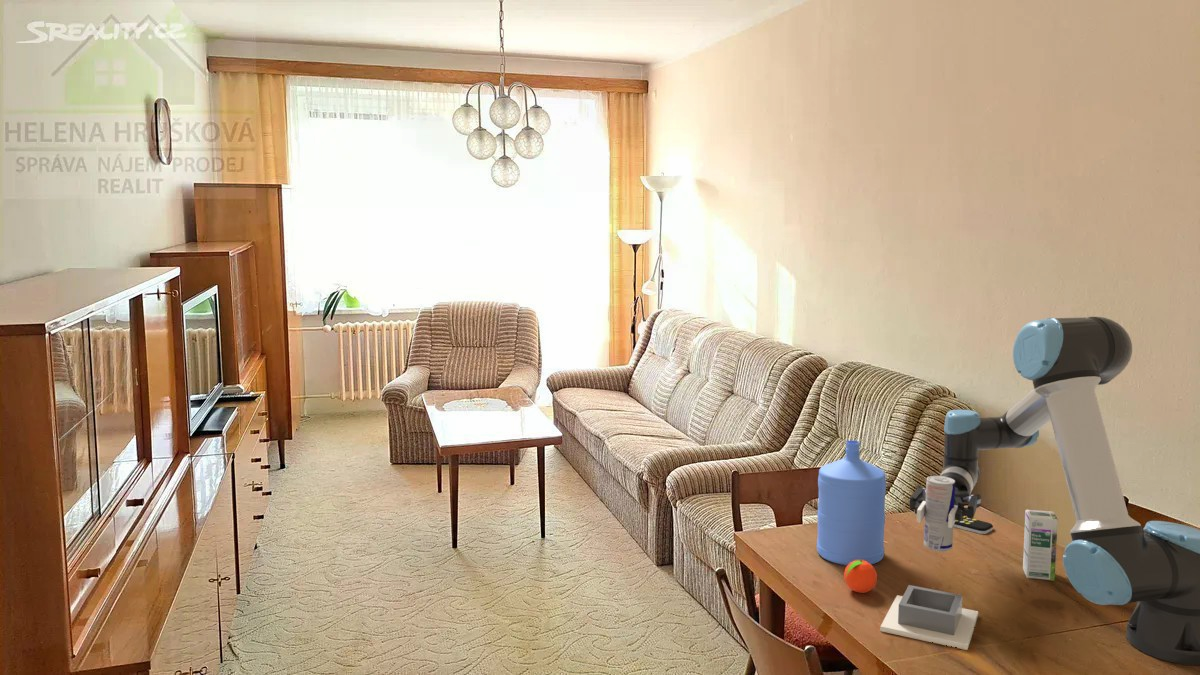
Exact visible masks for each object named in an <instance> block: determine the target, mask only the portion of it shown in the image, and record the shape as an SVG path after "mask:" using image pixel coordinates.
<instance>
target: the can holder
mask: <svg viewBox="0 0 1200 675" xmlns="http://www.w3.org/2000/svg"><path fill="white" fill-rule="evenodd" d="M978 617H979V611H978V610H973V609H967V608H965V607H963V594H959V593H953V592H950V591H949V592H947V591H944V590H938V589H937V590H936V589H931V588H927V587H921V586H916V585H910V584H908V586H907V588H906V590H905V592H904V593H903V595H898V594H897V595H896V596H895V598H894V600H893V602H892V604H891V606H890V607H889V610H888V611H887V613H886V615H885V617H884V619H883V620H882V623H881V624H880V627H879V628H880V629H879V630H880V631H879V632H881V633H888V634H891V635H892V634H893V635H897V636H901V637H906V638H910V639H915V640H919V641H923V642H929V643H932V642H933V643H932V644H937V645H943V646H946V645H947V646H946V647H951V646H952V648H955V647H957V648H956V649H961V650H965V651H968V650H969V647H970V643H971V641H972V636H973V633H974V630H975V628H974V627H976V624H977V621H978Z"/></svg>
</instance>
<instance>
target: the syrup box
mask: <svg viewBox="0 0 1200 675" xmlns="http://www.w3.org/2000/svg"><path fill="white" fill-rule="evenodd" d="M1057 517H1058V516H1057V515H1056V514H1055V512H1054V511H1053V510H1052V511H1051V510H1050V511H1048V510H1047V511H1046V510H1034V509H1025V513H1024V534H1023V536H1024V538H1023V539H1024V540H1023V556H1022V558H1023V560H1022V561H1023V562H1022V569H1023V571H1024V572H1023V573H1024V574H1025V576H1026V578H1027V579H1035V580H1036V579H1037V580H1045V581H1052V582H1053V581H1055V578H1056V564H1057V563H1056V561H1057V560H1056V559H1057V541H1058V526H1059V525H1058V524H1059V523H1058V520H1059V518H1057Z"/></svg>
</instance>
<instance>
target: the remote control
mask: <svg viewBox="0 0 1200 675" xmlns="http://www.w3.org/2000/svg"><path fill="white" fill-rule="evenodd" d="M953 528H955V529H959V530H965V531H968V532H971V533H975V534H980V535H986V534H988V533H990V532H992V531H993V529H994V525H993V524H992V523H991V522H988V521H982V520H980V519H979V520H978V519H975V518H972V519H970V518H967V516H964V518H962V520H960V521H959V520H956V521H955V523H954V525H953Z"/></svg>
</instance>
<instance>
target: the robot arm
mask: <svg viewBox="0 0 1200 675" xmlns="http://www.w3.org/2000/svg"><path fill="white" fill-rule="evenodd" d="M1132 355H1133V343H1132V340H1131V336H1130V335H1129V333H1128V332H1127V330H1126V329H1125V328H1124V327H1123V326H1122V325H1120V324H1119V323H1118V322H1116V321H1114V320H1113V319H1110V318H1107V317H1102V316H1088V317H1087V316H1086V317H1059V318H1057V317H1056V318H1055V317H1048V318H1043V319H1036V320H1032V321H1030V322H1027V323H1026V324H1025V325H1024V326H1023V327H1022V328H1021V329H1020V330H1019V332H1018V333H1017V335H1016V338H1015V340H1014V343H1013V349H1012V359H1013V364H1014V368H1015V370H1016V371H1017V373H1018V374H1020V376H1021V377H1023V379H1027V380H1029V381H1032V385H1033V389H1032V390H1030V391H1029V392H1028V393H1027V394H1026V395H1025V396H1024V397H1022V398H1021V399H1020V400H1019V401H1018V402H1017V403H1016V404H1014V405H1013V406H1012V407H1011V408H1010V409H1009V410H1007V411H1005V413H1004V414H1002V415H1000V416H992V417H989V416H988V417H980V416H981V415H980V414H979V413H978V412H977V411H974V410H971V409H951V410H949V411H947V413H946V415H945V420H944V427H943V431H944V437H943V438H944V440H943V441H944V443H943V445H944V446H943V447H944V448H943V450H944V451H943V461H942V462H943V463H942V472H941V473H940V474H939V476H944V477H948V478H951V479H953V480H955V499H954V508H952V509H951V511H950V513H949V517H948V527H949V528H952V527H953V525H954V523H955V521H956V520H959V521H960V520H962V518H964V516H965V517H967V518H970V519H975V514H976V512H977V510H978V508H980V507H981V506H982V504H981V503H982V495H981V494H979V493H975V494H971V493H972V491H973V490H974V488H975V486H976V485H977V483H978V481H979V478H980V468H979V466H978V465H979V464H978V463H979V452H980V451H985V450H986V451H987V450H998V449H1020V448H1024V447H1029V446H1033V445H1034V444H1036V442H1037V441H1038V438H1039V437H1040V436H1039V435H1040V429H1042V428H1043V427H1045V426H1046V425H1047V424H1048V423H1050V422H1051V425H1052V430H1053V433H1054V437H1055V441H1056V444H1057V449H1058V452H1059V458H1060V461H1061V466H1062V468H1063V473H1064V476H1065V481H1066V484H1067V488H1068V493H1069V496H1070V501H1071V504H1072V509H1073V512H1074V517H1075V520H1076V521H1075V524H1074V526H1072V529H1071V530H1070V536H1071V537H1070V538H1071V540H1072V541H1071V542H1070V543H1069V544H1067V545H1066V547H1065V548H1064V553H1065V554H1063V555H1062V564H1063V567H1064V571H1065V575H1066V576H1067V578H1068V579H1067V580H1068V581H1069V583H1070V584H1071V585H1072V587H1073V588H1074V589H1075V591H1076V592H1077V593H1078V594H1080V595H1081V596H1082V597H1083V598H1084V599H1085V600H1087V601H1089V602H1091V603H1093V604H1096V605H1100V606H1101V605H1102V606H1109V605H1114V606H1117V605H1118V606H1123V605H1126V604H1130V603H1137V604H1136V605H1135V607H1134V609H1133V612H1132V613H1131V615H1130V617H1129V619H1128V621H1127V623H1126V631H1125V632H1126V633H1125V637H1126V639H1127V641H1128V642H1129V644H1130V645H1131V646H1133V647H1134V648H1135V649H1137V650H1138V651H1140V652H1142V653H1145V654H1147V655H1149V656H1151V657H1154V658H1155V659H1160V660H1163V661H1166V662H1169V663H1174V664H1180V665H1187V666H1197V667H1198V666H1200V529H1199V528H1196V527H1192V526H1189V525H1185V524H1180V523H1175V522H1170V521H1165V520H1164V521H1163V520H1149V521H1147V522H1146V523H1145V525H1144V527H1142V525H1141V523H1140V522H1138V521H1137V520H1135V519H1133V518H1132V517H1131V516H1130V515H1129V512H1128V509H1127V506H1126V502H1125V498H1124V494H1123V490H1122V487H1121V483H1120V479H1119V476H1118V472H1117V467H1116V464H1115V461H1114V458H1113V453H1112V450H1111V446H1110V443H1109V438H1108V434H1107V430H1106V427H1105V423H1104V420H1103V417H1102V414H1101V413H1102V412H1101V408H1100V405H1099V402H1098V398H1097V395H1096V391H1095V390H1096V387H1097V386H1104V385H1106V384H1108V383H1109V382H1111V381H1112V380H1114V379H1115V378H1117V376H1119V375H1120V374H1121V373H1122V372H1123V371H1124V370H1125V369H1126V367H1127V366H1128V365H1129V363H1130V361H1131V358H1132ZM925 502H926V487H923V486H921V485H917V486H916V489H915V491H914V492H913V493H912V495H910V497H909V509H910V510H912V511H914V514H915V515H916V523H919V524H921V523H922V521H924V519H925ZM967 503H968V504H967ZM965 504H967V507H965ZM953 528H954V527H953ZM1143 531H1144V532H1143Z"/></svg>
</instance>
